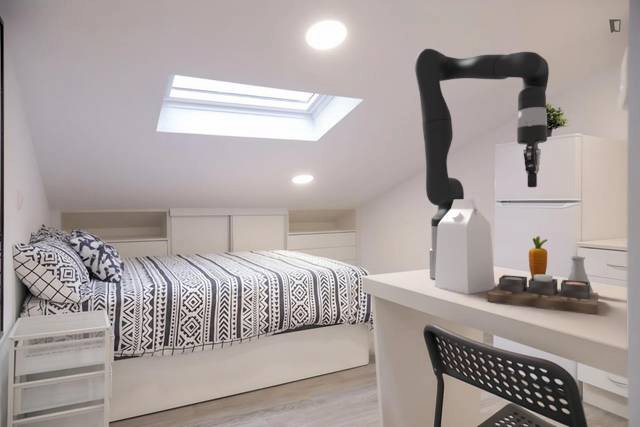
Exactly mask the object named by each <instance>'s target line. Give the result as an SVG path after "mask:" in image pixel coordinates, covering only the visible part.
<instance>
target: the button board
mask: <svg viewBox="0 0 640 427" xmlns="http://www.w3.org/2000/svg"><path fill="white" fill-rule="evenodd" d="M506 277H516V278H521V279H522V280H515V279H504V278H506ZM566 282H580V283H584V284H586V285H576V284H566ZM590 285H591V282H590V281H589V282H587V281H574V280H568V279H562V280H561V283H560V288H559V289H558V279H557V278H553V283H552V282H540V281H534V277H532V276H531V278H530V279H529V280H528V277H527V276H521V275H520V276H519V275H508V274H507V275H506V274H503V275H502V276H501V277H499V278H498V284H497V285H496V286H495V288H494V289H492V290H489V292H488V293H486V295H487V296H486V301H487V302H490V303H498V304H505V305H516V306H525V307H534V308H543V309H550V310H560V311H568V312H577V313H586V314H594V315H598V311H599V308H598V307H599V293H598V292H594V291H593V292H594V293H593V292H590Z"/></svg>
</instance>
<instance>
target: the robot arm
mask: <svg viewBox="0 0 640 427" xmlns="http://www.w3.org/2000/svg"><path fill="white" fill-rule="evenodd" d="M549 70H550V69H549V64H548V61H547V60H546V59H545V58H544V57H543V56H541V55H540V54H539V53H537V52H535V51H520V52H514V53H509V54H482V55H481V54H480V55H476V56H473V57H467V58H457V57H452V56H446V55H445V54H443V53H442V52H440V51H438V50H437V49H436V50H435V49H433V48H424V49H422V50H420V52H419V53H418V55H417V56H416V59H415V61H414V72H415V77H416V82H417V87H418V91H419V99H420V109H421V119H422V123H421V124H422V131H423V132H422V133H423V140H424V152H425V166H426V167H425V172H426V174H425V175H426V176H425V183H426V184H425V191H426V197H427V199H428V201H429V203H431V204H433V205H434V206H437V211H436V214H434V216H432V217H431V220H430V222H431V223H430V224H431V248H430V249H429V279H433V280H435V272H436V249H437V228H438V224H439V222H440V221H441V220H442V218H443V217H444V216H445V215H446V214H447V213H448V211H449V210H450V209H451V207H452V204H453V201H454V199H465V193H464V187H463V184H462V182H461V181H460V180H459V179H457V178H456V177H449V173H448V166H447V165H448V155H449V153H450V152H449V151H450V148H451V145H452V142H453V135H454V133H453V132H454V131H453V123H452V116H451V111H450V110H449V107H448V105H447V102H446V100H445V98H444V95H443V92H442V89H441V82H444V81H449V80H458V79H475V80H506V79H508V78H519V79H521V80H522V87H521V88H522V90H520V92H519V93H518V97H517V120H516V122H517V123H516V124H517V125H516V127H517V128H516V134H517V136H516V138H517V143H518V144H519V145H525V149H523V151H522V152H523V153H522V154H523V157H524V158H523V159H524V166H525V168H524V170H525V172H526V175H527V187H528V188H536V187H538V174H539V171H540V161H541V160H540V159H541V154H542V153H541V149H540V148H539V146H538V145H539V144H544V143H546V142H547V141H548V114H547V109H546V108H547V107H546V106H547V95H546V92H547V87H548V82H549V74H550V71H549Z"/></svg>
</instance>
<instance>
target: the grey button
mask: <svg viewBox="0 0 640 427" xmlns="http://www.w3.org/2000/svg"><path fill="white" fill-rule="evenodd" d="M553 279H554V278H553V275H550V274H545V275H544V274H536V275H534V281H540V282H552V283H553Z"/></svg>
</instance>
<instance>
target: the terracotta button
mask: <svg viewBox="0 0 640 427" xmlns="http://www.w3.org/2000/svg"><path fill="white" fill-rule="evenodd" d="M566 284H576V285H586V284H584V283H580V282H566Z"/></svg>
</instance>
